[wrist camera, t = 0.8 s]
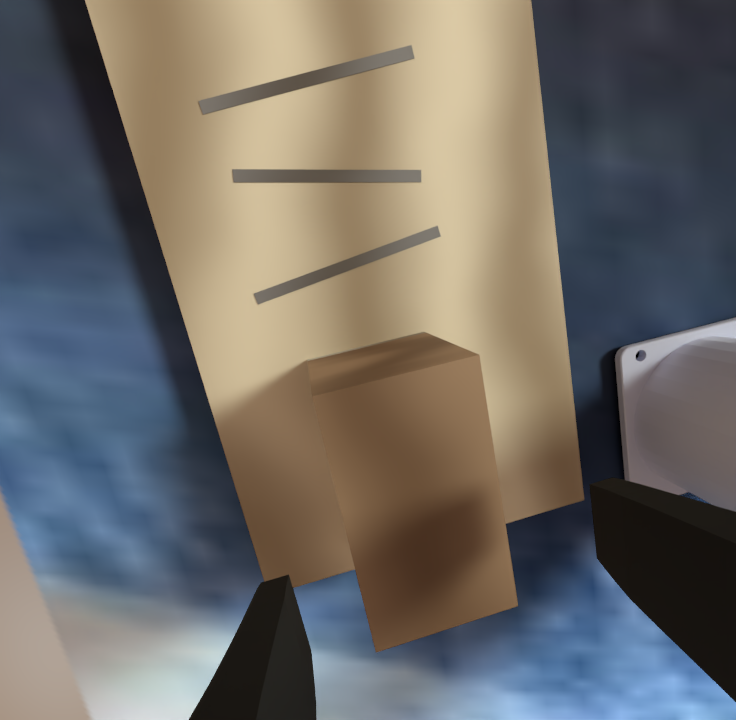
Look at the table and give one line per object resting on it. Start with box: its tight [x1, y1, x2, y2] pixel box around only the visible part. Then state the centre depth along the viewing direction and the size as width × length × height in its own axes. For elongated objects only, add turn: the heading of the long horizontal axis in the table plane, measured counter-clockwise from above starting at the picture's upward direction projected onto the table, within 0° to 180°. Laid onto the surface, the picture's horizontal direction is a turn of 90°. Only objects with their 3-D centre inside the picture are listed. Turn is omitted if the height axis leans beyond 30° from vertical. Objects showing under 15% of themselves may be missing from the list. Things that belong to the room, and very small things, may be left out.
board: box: [85, 0, 584, 588], centre depth 16 cm, size 14×24×2 cm, turn 12°
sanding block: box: [307, 332, 518, 652], centre depth 14 cm, size 4×8×5 cm, turn 12°
